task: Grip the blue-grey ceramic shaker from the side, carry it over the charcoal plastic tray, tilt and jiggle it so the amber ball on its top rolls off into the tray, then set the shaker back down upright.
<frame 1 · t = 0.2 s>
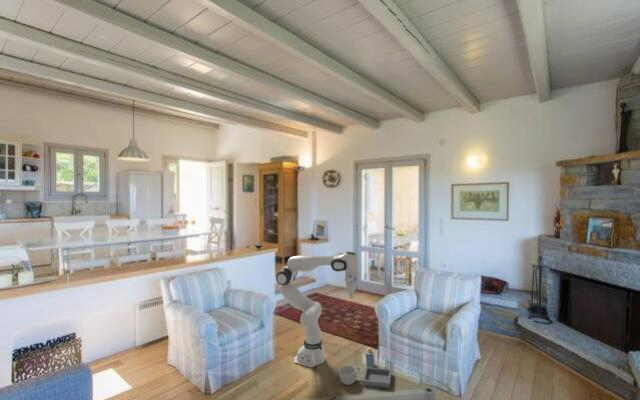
hand: (352, 295, 215), 48 cm above the table, tool pointing down, fingers open, 8 cm apart
ball: (369, 349, 212), point 11 cm above the table, touching shaker
shaker: (371, 366, 213), on the table, touching ball
tray: (377, 380, 198), on the table
teacup: (350, 381, 199), on the table
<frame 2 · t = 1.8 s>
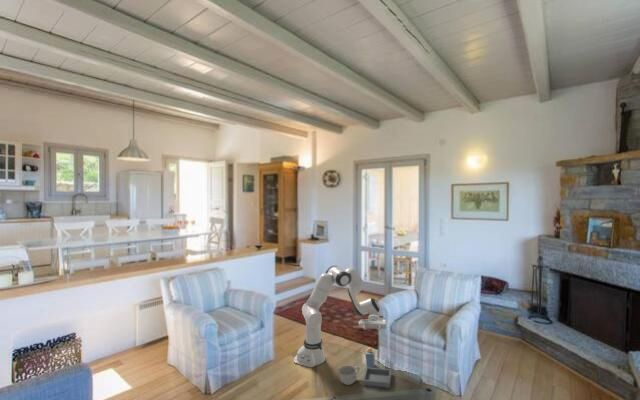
hand: (371, 329, 223), 20 cm above the table, tool horizontal, fingers open, 8 cm apart
nothing on the table moved.
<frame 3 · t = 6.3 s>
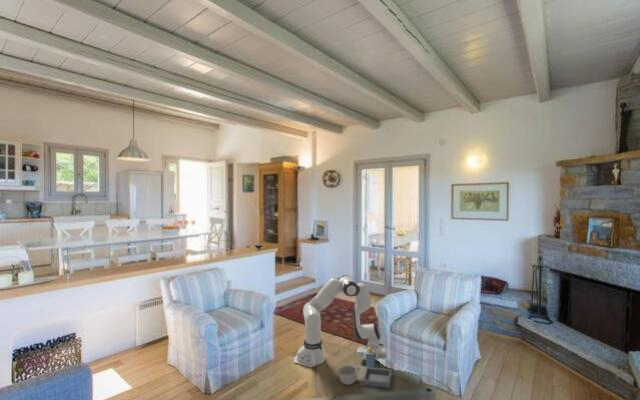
hand: (370, 359, 212), 6 cm above the table, tool horizontal, fingers closed on shaker, 5 cm apart
ball: (369, 349, 212), point 11 cm above the table, tilted 8°, touching shaker
shaker: (371, 366, 213), on the table, touching ball, gripper
everything else where it was.
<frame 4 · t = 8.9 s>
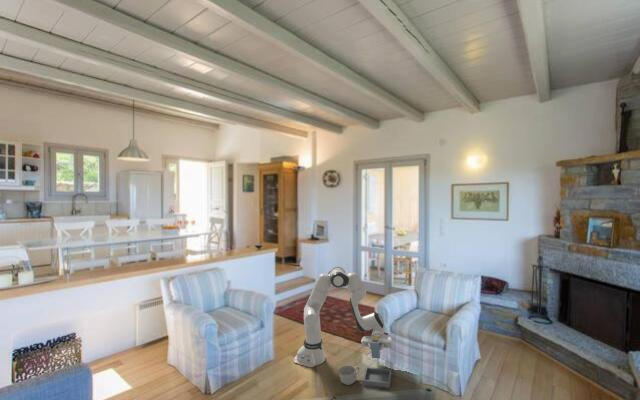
hand: (375, 348, 201), 18 cm above the table, tool horizontal, fingers closed on shaker, 5 cm apart
ball: (375, 338, 202), point 24 cm above the table, tilted 30°, touching shaker
shaker: (376, 356, 203), point 12 cm above the table, touching ball, gripper
everything else where it was.
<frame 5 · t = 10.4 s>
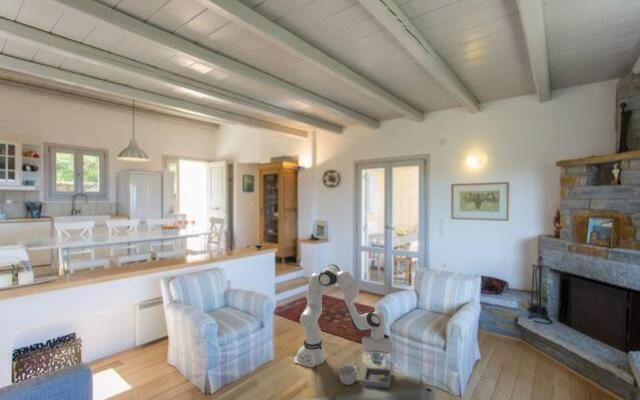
hand: (376, 359, 201), 11 cm above the table, tool tilted 45°, fingers closed on shaker, 5 cm apart
ball: (382, 377, 197), point 2 cm above the table, tilted 94°, touching tray
shaker: (378, 360, 205), point 8 cm above the table, tilted 45°, touching gripper
everything else where it was.
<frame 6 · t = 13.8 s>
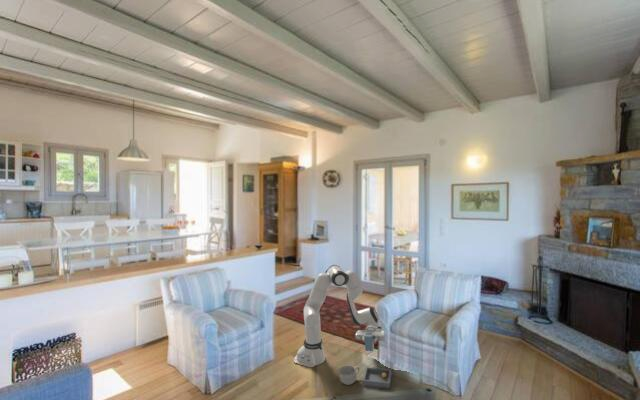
hand: (368, 341, 211), 18 cm above the table, tool horizontal, fingers closed on shaker, 5 cm apart
ball: (384, 375, 199), point 2 cm above the table, tilted 37°, touching tray
shaker: (369, 348, 212), point 12 cm above the table, touching gripper
everything else where it was.
when the fingers open (6 cm above the table, at t = 16.3 s): shaker stays where it is, on the table.
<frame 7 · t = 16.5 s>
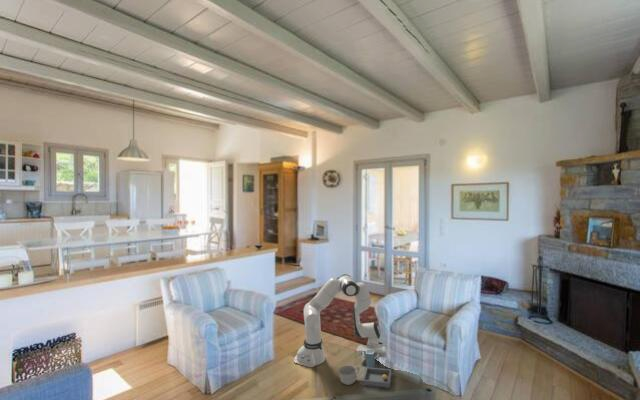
hand: (370, 357, 212), 6 cm above the table, tool horizontal, fingers open, 7 cm apart
ball: (384, 377, 197), point 2 cm above the table, tilted 63°, touching tray
shaker: (371, 366, 213), on the table
everything else where it was.
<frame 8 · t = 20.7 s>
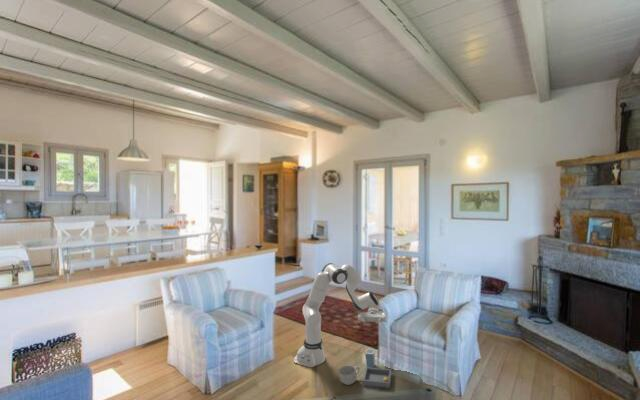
hand: (370, 322, 223), 25 cm above the table, tool horizontal, fingers open, 8 cm apart
ball: (385, 380, 194), point 2 cm above the table, tilted 144°, touching tray
everything else where it was.
at the end: ball inside the target area on the tray (6.0 cm from its centre), point 2.3 cm above the tray's base; shaker tilted 0°; the gripper is holding nothing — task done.
